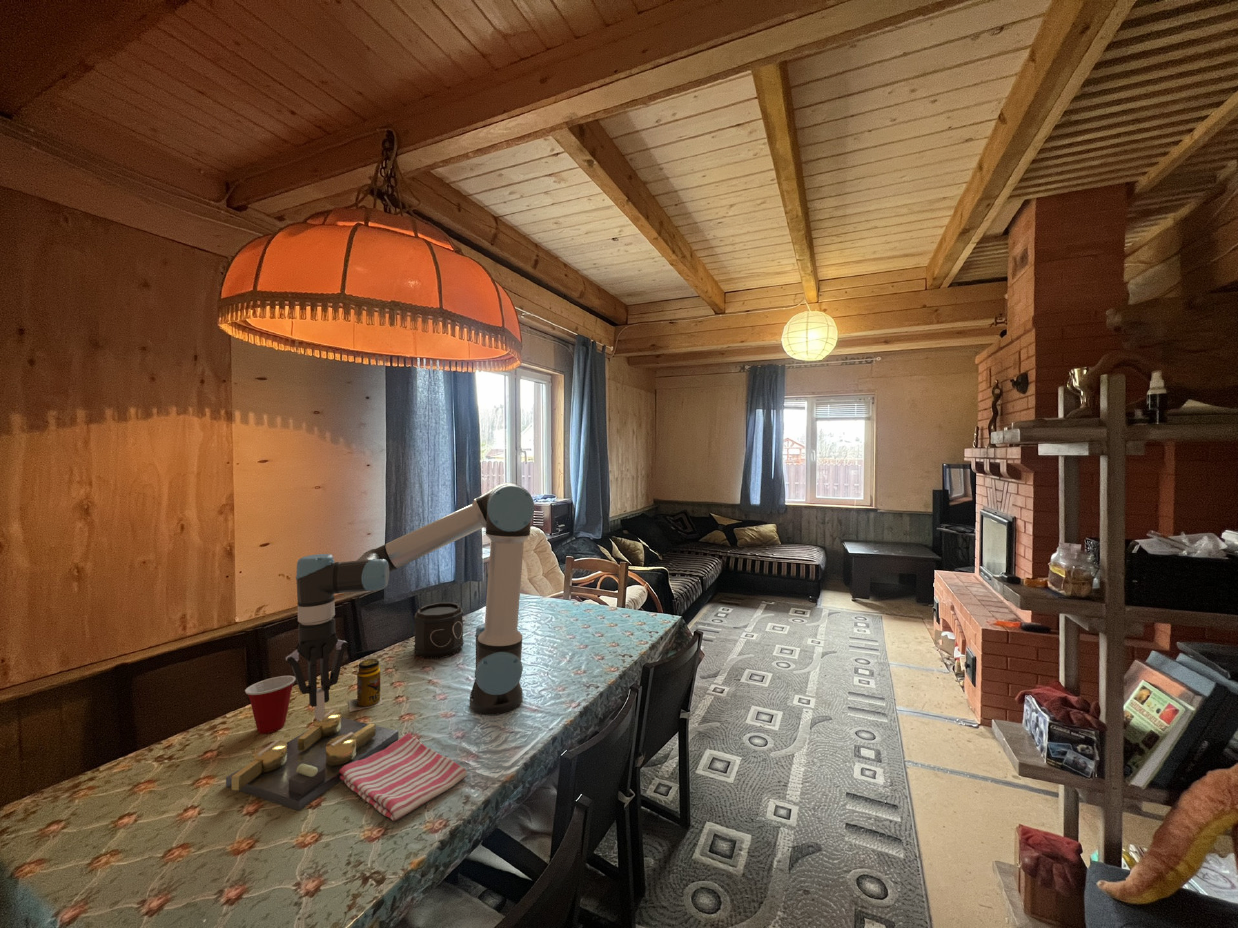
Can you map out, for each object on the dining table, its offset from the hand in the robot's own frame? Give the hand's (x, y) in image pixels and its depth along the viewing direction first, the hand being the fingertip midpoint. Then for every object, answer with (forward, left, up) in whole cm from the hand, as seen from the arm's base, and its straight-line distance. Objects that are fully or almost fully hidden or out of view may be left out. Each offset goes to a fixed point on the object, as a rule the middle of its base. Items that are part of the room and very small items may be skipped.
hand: (319, 717), depth 112 cm
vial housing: (-10, +11, -7) cm, 16 cm away
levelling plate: (-2, +2, -9) cm, 9 cm away
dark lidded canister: (+16, -61, -9) cm, 64 cm away
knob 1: (+3, +12, -7) cm, 14 cm away
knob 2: (+3, -2, -7) cm, 8 cm away
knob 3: (-9, -1, -7) cm, 11 cm away
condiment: (+10, -22, -9) cm, 26 cm away
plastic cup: (+23, -4, -9) cm, 25 cm away
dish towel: (-26, +1, -9) cm, 28 cm away
